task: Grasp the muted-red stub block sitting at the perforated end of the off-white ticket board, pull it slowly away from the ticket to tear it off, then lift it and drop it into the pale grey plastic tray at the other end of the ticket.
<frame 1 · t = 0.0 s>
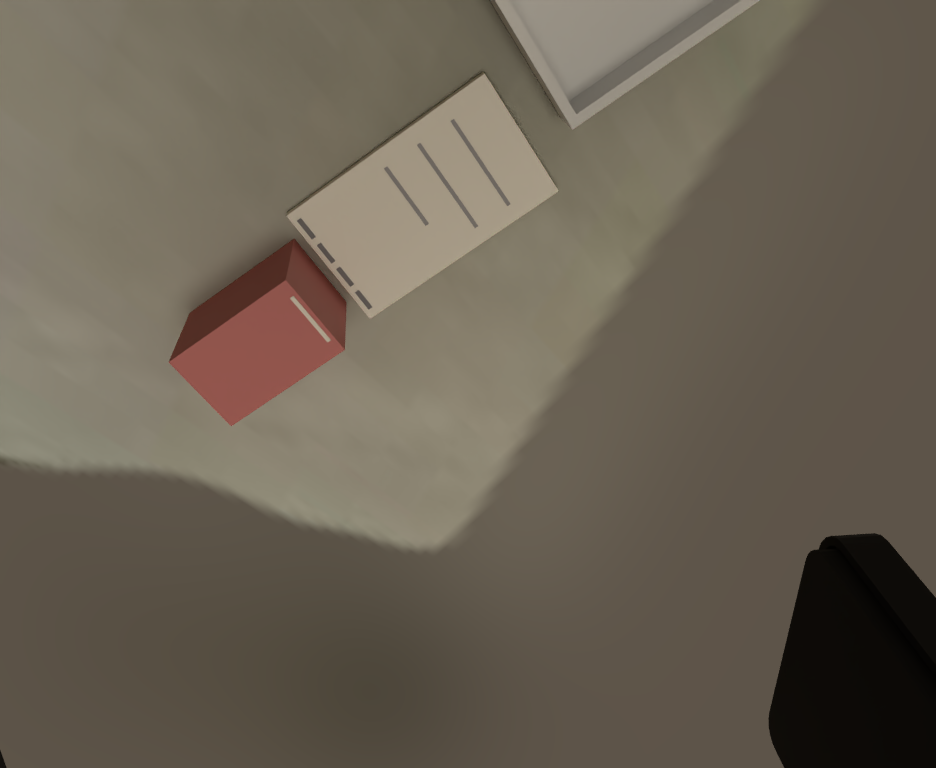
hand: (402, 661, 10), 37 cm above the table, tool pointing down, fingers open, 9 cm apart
ticket: (423, 200, 46), on the table
stub: (268, 306, 47), on the table
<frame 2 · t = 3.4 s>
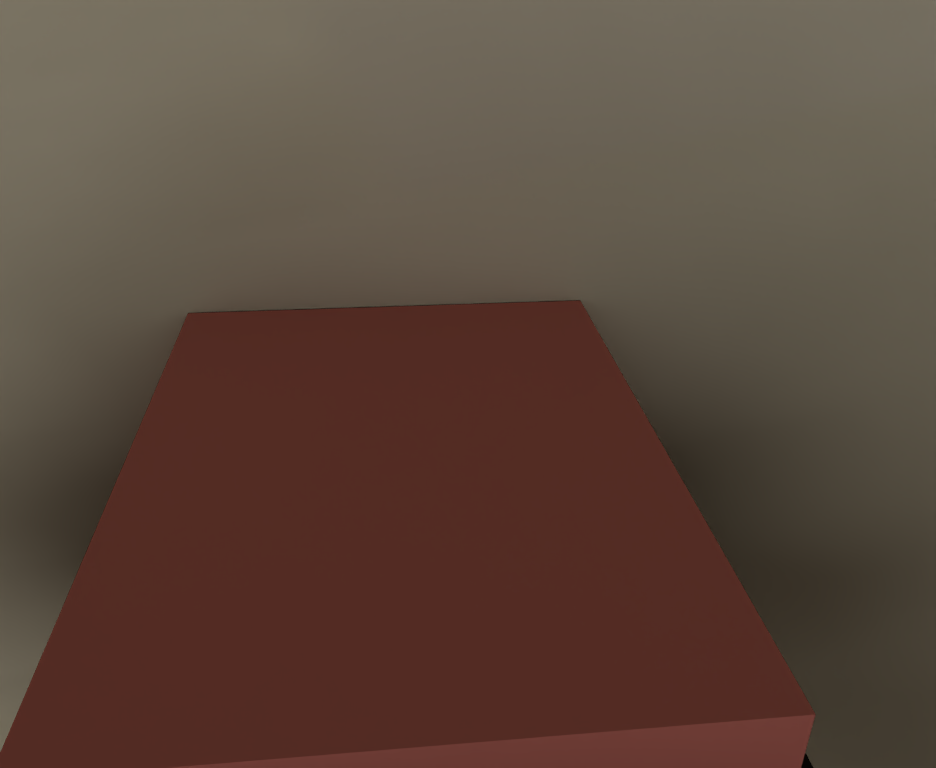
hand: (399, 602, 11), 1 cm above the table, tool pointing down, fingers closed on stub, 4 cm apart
stub: (396, 553, 12), on the table, touching gripper
when the fingers open (3 cm above the table, at t = 10.2 s): stub drops 2 cm, resting on tray.
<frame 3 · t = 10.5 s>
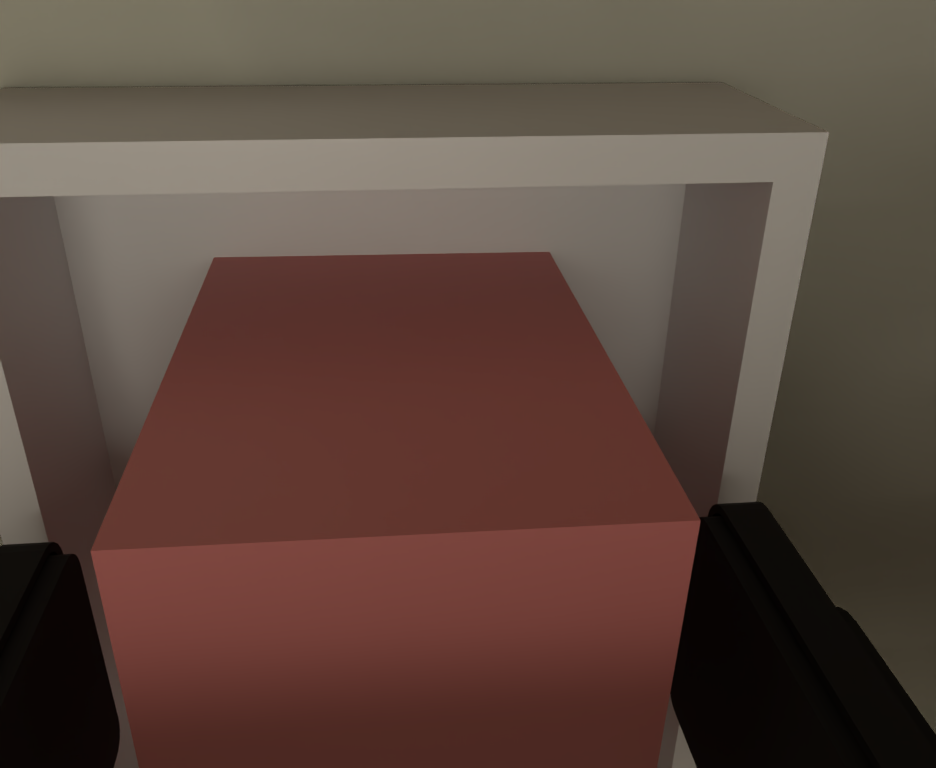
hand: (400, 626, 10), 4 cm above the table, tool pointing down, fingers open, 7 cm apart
stub: (390, 476, 13), resting on tray
tray: (390, 455, 14), on the table
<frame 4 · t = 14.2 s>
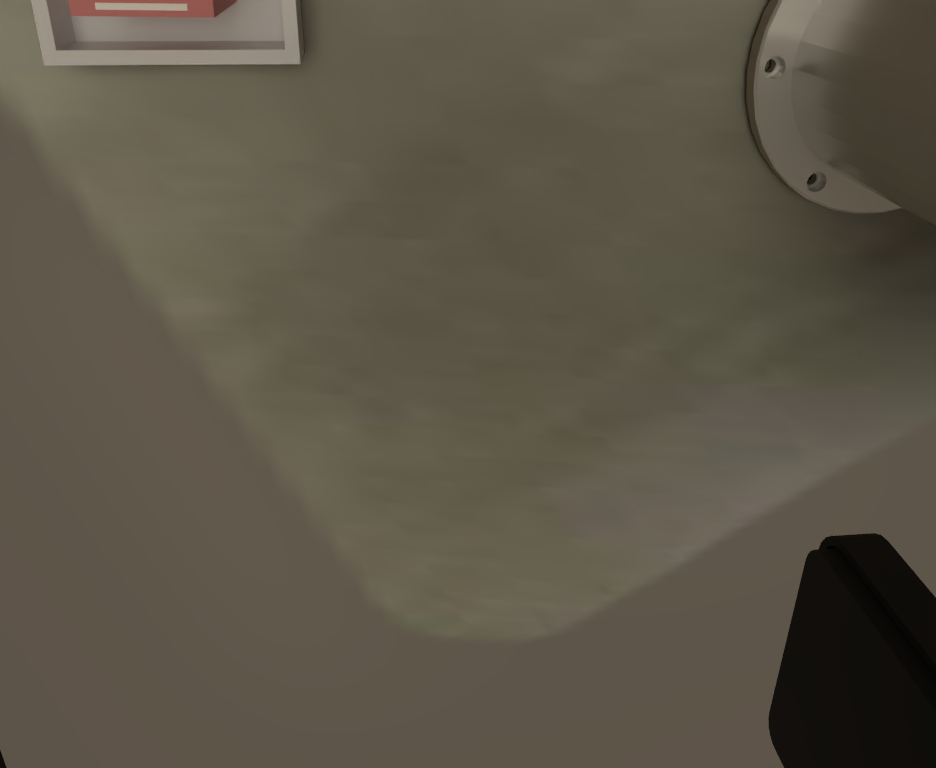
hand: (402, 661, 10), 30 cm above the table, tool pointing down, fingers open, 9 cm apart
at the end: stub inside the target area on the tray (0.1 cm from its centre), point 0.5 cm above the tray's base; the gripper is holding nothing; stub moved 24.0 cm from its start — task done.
